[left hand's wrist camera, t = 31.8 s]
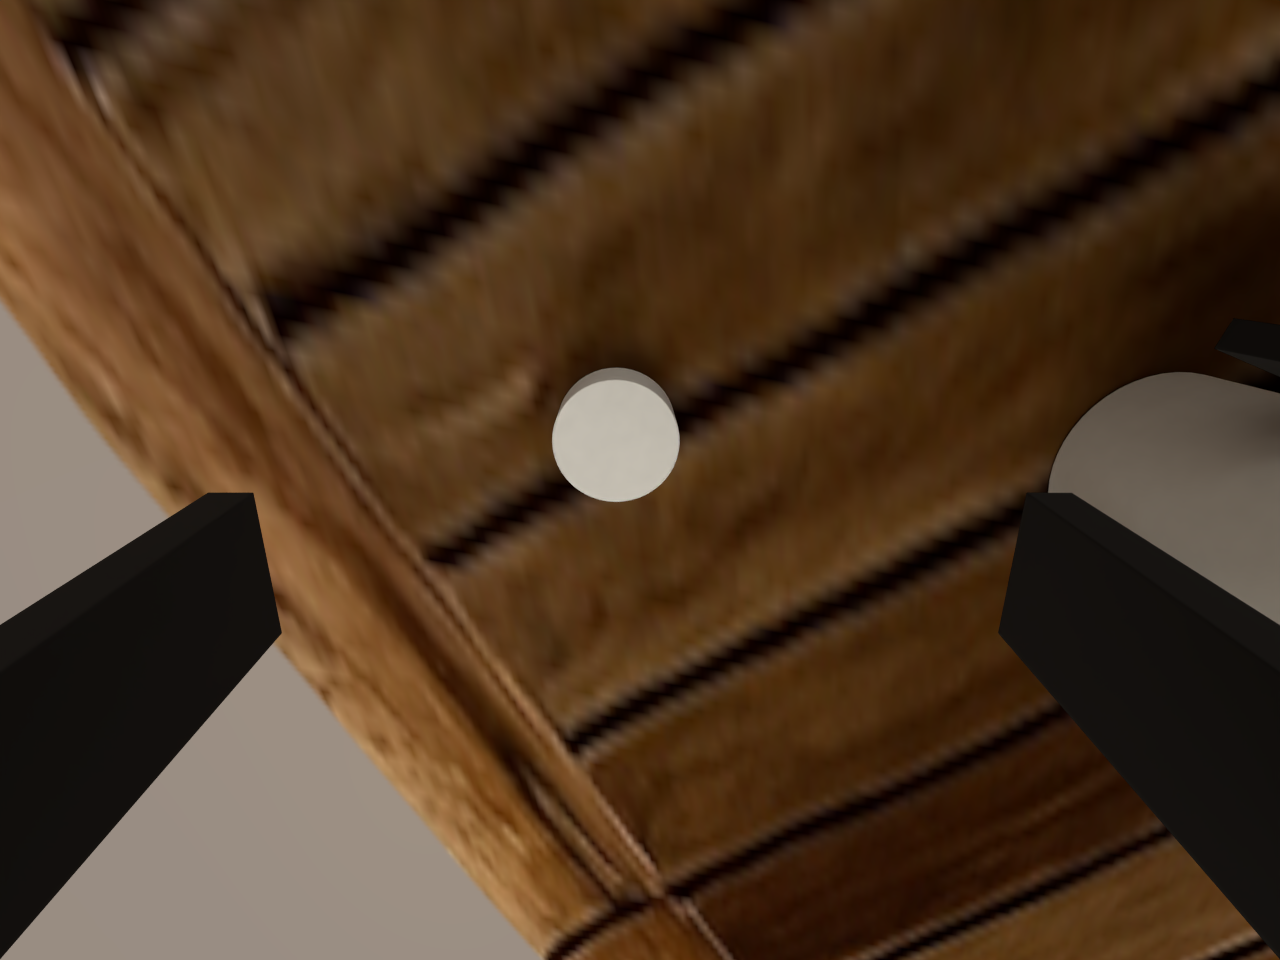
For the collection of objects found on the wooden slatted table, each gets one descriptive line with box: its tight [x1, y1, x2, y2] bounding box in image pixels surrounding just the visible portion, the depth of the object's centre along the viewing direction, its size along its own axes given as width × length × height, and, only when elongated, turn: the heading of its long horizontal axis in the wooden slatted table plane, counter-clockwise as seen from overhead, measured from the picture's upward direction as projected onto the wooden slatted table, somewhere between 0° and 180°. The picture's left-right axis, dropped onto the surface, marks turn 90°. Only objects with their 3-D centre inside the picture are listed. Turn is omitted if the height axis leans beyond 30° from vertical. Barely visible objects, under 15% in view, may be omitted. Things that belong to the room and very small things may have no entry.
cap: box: [552, 368, 680, 502], centre depth 21 cm, size 4×4×2 cm
